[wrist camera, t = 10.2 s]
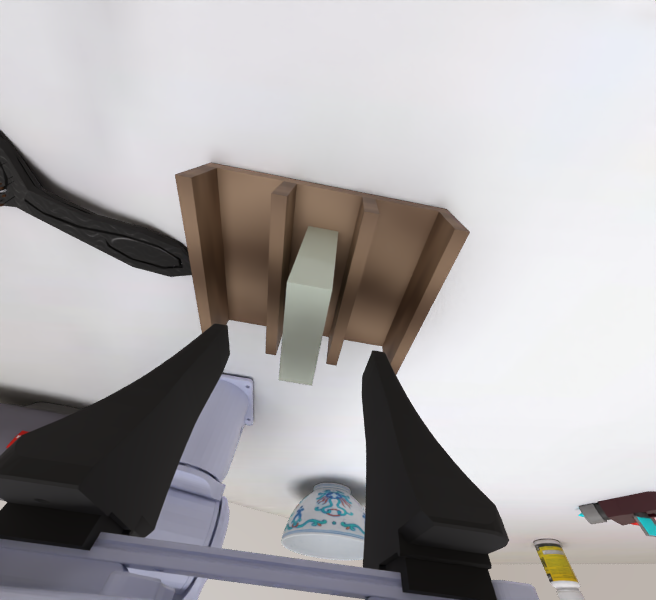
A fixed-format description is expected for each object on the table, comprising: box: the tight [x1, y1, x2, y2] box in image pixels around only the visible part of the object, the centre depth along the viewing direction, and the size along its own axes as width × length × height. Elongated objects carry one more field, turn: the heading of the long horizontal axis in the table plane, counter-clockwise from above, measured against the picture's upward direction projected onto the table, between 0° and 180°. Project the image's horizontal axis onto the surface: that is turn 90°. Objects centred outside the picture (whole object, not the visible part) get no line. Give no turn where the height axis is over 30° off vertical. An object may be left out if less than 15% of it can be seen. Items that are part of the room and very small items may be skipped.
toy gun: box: [578, 491, 656, 537], centre depth 39 cm, size 10×12×5 cm
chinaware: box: [281, 483, 365, 560], centre depth 43 cm, size 15×15×8 cm
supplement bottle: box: [534, 539, 585, 600], centre depth 51 cm, size 5×5×8 cm
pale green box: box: [279, 226, 338, 386], centre depth 16 cm, size 7×2×7 cm, turn 170°
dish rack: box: [175, 163, 470, 375], centre depth 18 cm, size 12×15×4 cm
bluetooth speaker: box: [0, 402, 82, 501], centre depth 32 cm, size 23×9×10 cm, turn 74°
